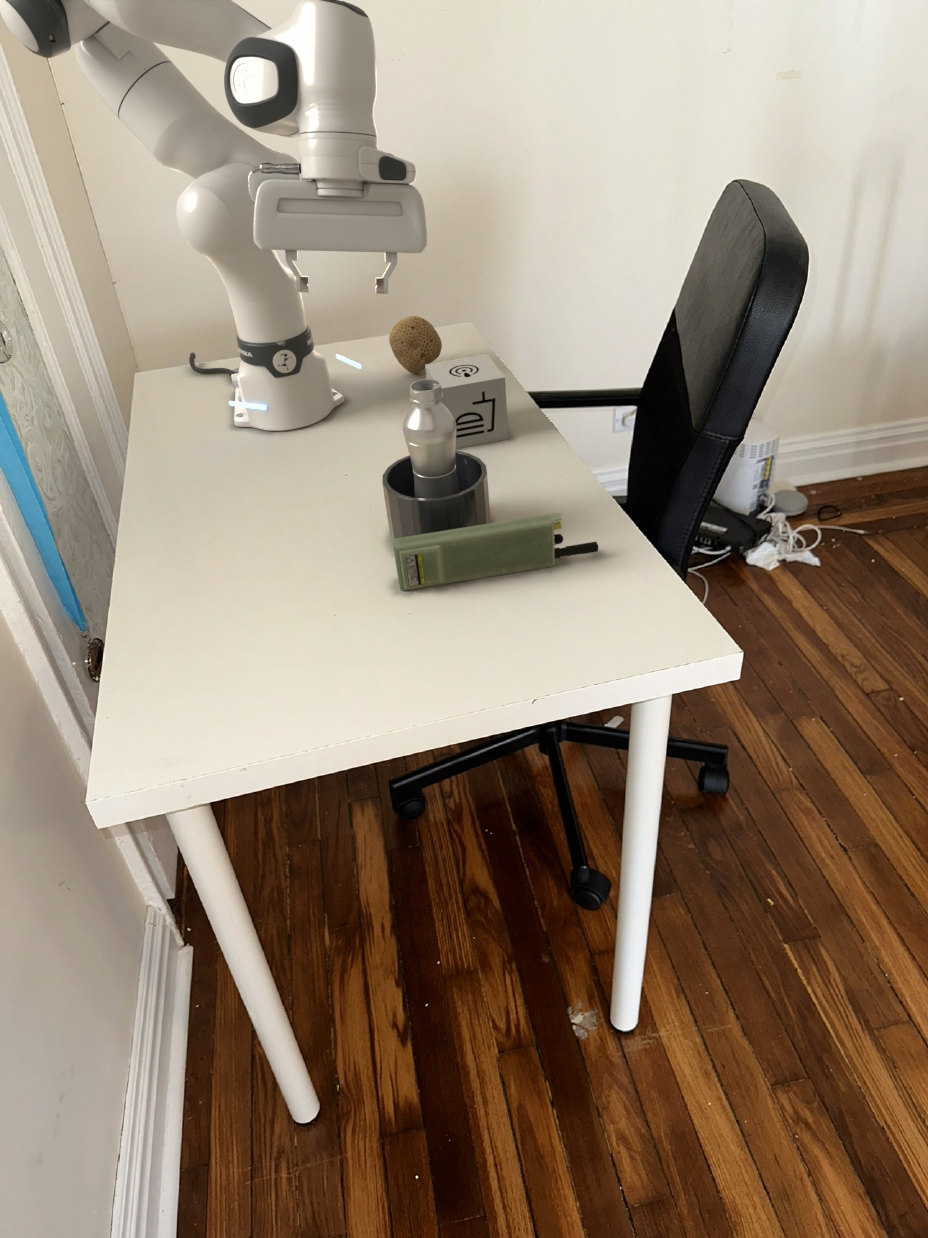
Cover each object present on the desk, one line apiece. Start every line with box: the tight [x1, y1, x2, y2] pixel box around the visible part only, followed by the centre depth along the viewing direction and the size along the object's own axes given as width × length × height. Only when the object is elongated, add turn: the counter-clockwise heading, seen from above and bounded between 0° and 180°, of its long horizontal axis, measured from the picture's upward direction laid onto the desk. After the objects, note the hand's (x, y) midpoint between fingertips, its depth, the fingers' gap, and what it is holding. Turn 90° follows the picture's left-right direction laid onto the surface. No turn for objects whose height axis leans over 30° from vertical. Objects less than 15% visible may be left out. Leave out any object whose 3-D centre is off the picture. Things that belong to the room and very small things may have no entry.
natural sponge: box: [388, 315, 443, 375], centre depth 162 cm, size 9×9×10 cm
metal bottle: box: [402, 378, 460, 499], centre depth 115 cm, size 6×7×20 cm
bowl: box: [381, 449, 492, 545], centre depth 118 cm, size 13×13×9 cm
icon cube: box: [424, 353, 509, 450], centre depth 142 cm, size 10×10×10 cm
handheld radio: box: [391, 512, 599, 592], centre depth 111 cm, size 7×3×25 cm
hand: (342, 292), depth 110 cm, fingers open, 8 cm apart
